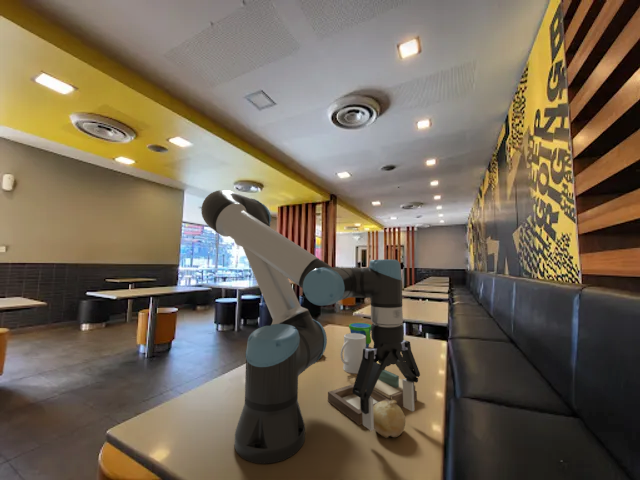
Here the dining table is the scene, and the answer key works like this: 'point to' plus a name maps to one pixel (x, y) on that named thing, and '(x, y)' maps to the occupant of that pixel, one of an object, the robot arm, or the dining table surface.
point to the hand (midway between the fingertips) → (389, 417)
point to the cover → (389, 384)
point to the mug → (353, 351)
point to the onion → (388, 418)
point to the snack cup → (362, 330)
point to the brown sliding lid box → (351, 402)
